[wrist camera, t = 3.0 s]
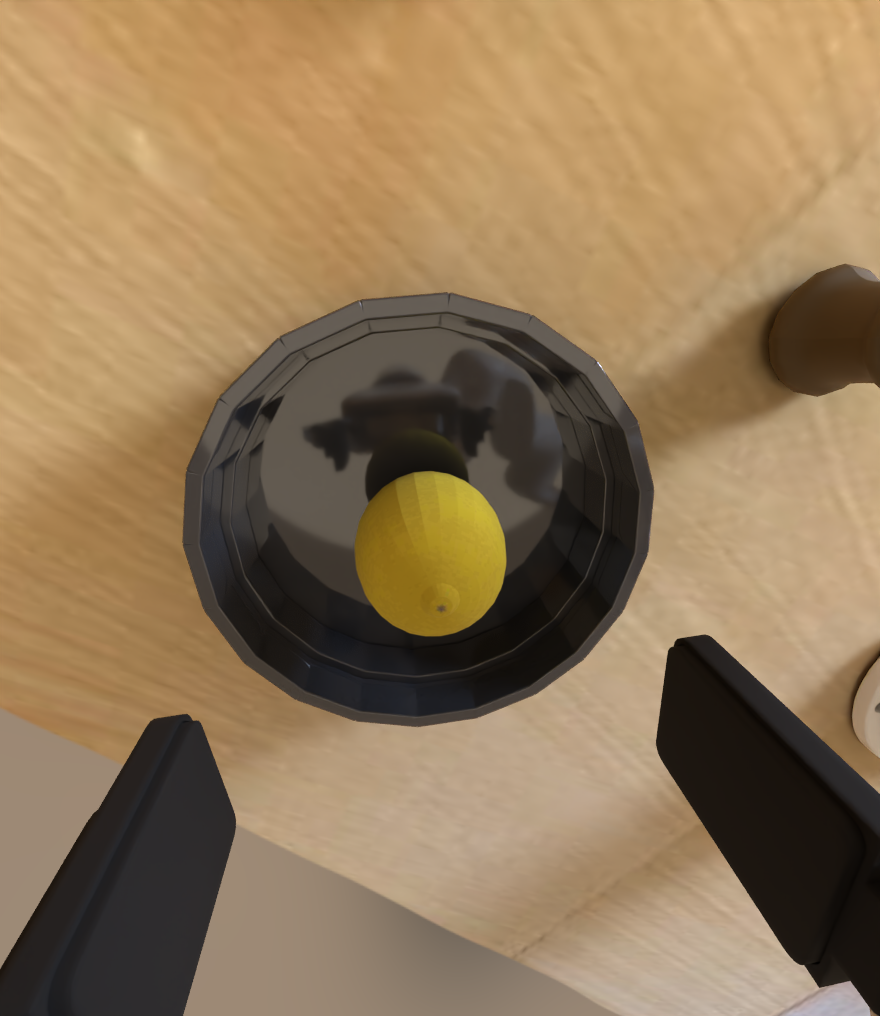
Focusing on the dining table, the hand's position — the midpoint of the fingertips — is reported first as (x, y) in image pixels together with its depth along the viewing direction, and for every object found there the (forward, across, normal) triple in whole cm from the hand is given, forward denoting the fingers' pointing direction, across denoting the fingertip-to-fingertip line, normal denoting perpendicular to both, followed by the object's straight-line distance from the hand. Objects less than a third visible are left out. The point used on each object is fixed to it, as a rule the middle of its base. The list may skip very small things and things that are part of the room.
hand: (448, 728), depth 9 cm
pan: (+13, 0, 0) cm, 13 cm away
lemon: (+13, 0, 0) cm, 13 cm away
